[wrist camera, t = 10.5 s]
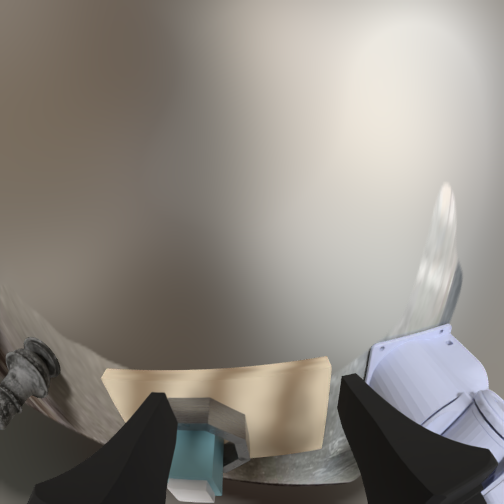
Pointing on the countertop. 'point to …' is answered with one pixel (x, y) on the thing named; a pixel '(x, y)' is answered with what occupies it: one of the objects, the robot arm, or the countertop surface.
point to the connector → (197, 467)
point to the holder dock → (238, 404)
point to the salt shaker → (26, 377)
